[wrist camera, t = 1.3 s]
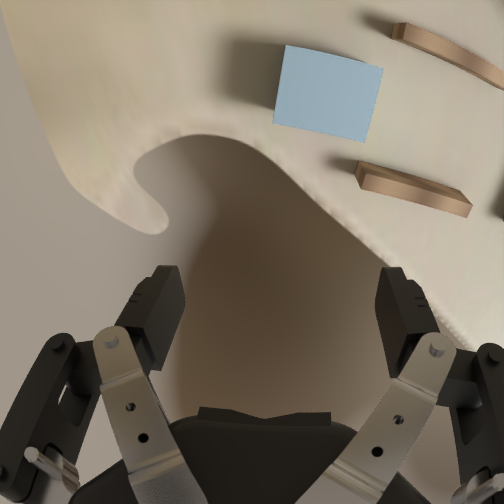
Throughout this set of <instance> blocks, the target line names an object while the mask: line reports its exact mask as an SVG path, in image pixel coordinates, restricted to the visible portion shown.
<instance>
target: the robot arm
mask: <svg viewBox="0 0 504 504" xmlns="http://www.w3.org/2000/svg"><path fill="white" fill-rule="evenodd" d="M184 308H185V294H184V290H183V285H182V281H181V277H180V273H179V270H178V267H177V266H173V265H159V266H157V268H156V270H155V271H154V273H153V275H152V276H151V277H146V278H145V279H144V280H143V281H141V282H140V283H139V284H138V285H137V287H136V288H135V290H134V292H133V295H131V297H130V299H129V302H127V304H126V305H125V307H124V309H123V311H122V312H121V314H120V316H119V318H118V319H117V321H116V323H115V325H114V326H111V327H107V328H105V329H103V330H101V331H100V332H99V333H98V334H97V335H96V336H95V338H94V340H92V341H85V342H77V343H76V342H75V340H74V338H73V337H72V336H71V335H70V334H68V333H60V334H56V335H54V336H52V337H51V338H50V339H49V340H48V341H47V342H46V343H45V345H44V347H43V348H42V350H41V352H40V353H39V355H38V357H37V359H36V361H35V362H34V364H33V366H32V368H31V370H30V371H29V374H28V375H27V377H26V379H25V381H24V383H23V385H22V386H21V388H20V390H19V392H18V394H17V396H16V398H15V400H14V402H13V404H12V406H11V408H10V410H9V412H8V414H7V417H6V419H5V421H4V423H3V425H2V427H1V430H0V495H2V496H4V497H5V498H6V499H7V500H9V501H10V502H12V503H14V504H431V503H430V502H429V501H428V500H427V499H426V498H425V497H424V496H423V495H422V494H421V493H420V492H419V491H418V490H417V489H416V488H415V487H413V486H412V485H411V484H410V483H409V482H408V481H407V480H406V479H405V478H404V477H403V476H402V475H401V474H400V473H399V472H398V470H399V468H400V467H401V465H402V463H403V462H404V460H405V458H406V457H407V455H408V454H409V452H410V450H411V449H412V447H413V445H414V444H415V442H416V440H417V438H418V436H419V435H420V433H421V431H422V429H423V427H424V426H425V424H426V422H427V420H428V418H429V416H430V414H431V412H432V410H433V408H434V406H435V405H440V406H446V407H449V410H450V415H451V420H452V426H453V432H454V437H455V444H456V450H457V457H458V465H459V473H460V483H461V486H459V487H458V488H457V489H456V490H455V491H454V493H453V495H452V497H451V500H450V504H504V349H503V348H502V347H501V346H499V345H497V344H494V343H485V344H483V345H481V346H480V347H479V349H478V351H477V352H472V351H466V350H461V349H457V348H456V346H455V344H454V342H453V341H452V340H451V339H450V338H449V337H448V336H446V335H444V334H441V333H440V330H439V328H438V325H437V323H436V320H435V318H434V316H433V313H432V311H431V308H430V307H429V304H428V301H427V299H426V297H425V295H424V292H423V290H422V288H421V287H420V286H419V285H418V284H417V283H416V282H415V281H414V280H407V279H406V277H405V274H404V272H403V270H402V268H401V267H382V269H381V273H380V278H379V283H378V288H377V293H376V298H375V313H376V317H377V321H378V326H379V330H380V334H381V338H382V342H383V347H384V351H385V356H386V361H387V365H388V370H389V375H390V378H395V380H394V381H393V383H392V384H391V386H390V387H389V389H388V390H387V392H386V393H385V395H384V396H383V398H382V399H381V401H380V402H379V404H378V405H377V406H376V408H375V409H374V411H373V412H372V414H371V415H370V416H369V418H368V419H367V420H366V422H365V423H364V425H363V426H362V427H361V429H360V430H359V431H358V432H357V431H355V430H354V429H352V428H350V427H348V426H346V425H343V424H340V423H337V422H333V421H331V412H325V413H324V412H322V413H294V414H289V415H284V416H279V417H273V418H268V419H261V418H257V417H254V416H251V415H247V414H244V413H240V412H237V411H234V410H230V409H219V408H208V407H200V408H199V412H198V415H196V416H191V417H186V418H183V419H180V420H177V421H175V422H173V423H170V421H169V419H168V417H167V415H166V413H165V411H164V409H163V407H162V405H161V403H160V401H159V398H158V396H157V394H156V392H155V390H154V388H153V385H152V383H151V381H150V379H149V377H148V376H149V374H150V371H151V370H157V371H161V370H162V367H163V365H164V362H165V359H166V357H167V354H168V351H169V348H170V346H171V343H172V341H173V338H174V335H175V333H176V330H177V327H178V324H179V322H180V319H181V317H182V314H183V312H184ZM65 385H66V386H67V387H66V389H65V392H64V394H63V396H62V398H61V401H60V403H59V405H58V401H59V397H60V395H61V393H62V390H63V388H64V386H65ZM100 394H102V398H103V401H104V404H105V408H106V411H107V414H108V417H109V420H110V423H111V426H112V429H113V432H114V435H115V438H116V441H117V444H118V446H119V449H120V452H121V454H122V457H123V459H121V460H120V461H118V462H117V463H116V464H114V465H113V466H111V467H110V468H108V469H107V470H105V471H104V472H103V473H101V474H100V475H98V476H97V477H95V478H94V479H92V480H91V481H89V482H88V483H86V484H84V485H83V486H82V487H80V482H79V473H78V470H77V469H76V467H75V464H76V461H77V458H78V455H79V452H80V449H81V446H82V443H83V440H84V437H85V435H86V432H87V429H88V426H89V423H90V420H91V418H92V415H93V412H94V409H95V407H96V404H97V402H98V399H99V396H100Z"/></svg>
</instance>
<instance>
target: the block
mask: <svg viewBox="0 0 504 504" xmlns="http://www.w3.org/2000/svg"><path fill="white" fill-rule="evenodd" d="M383 69H384V68H380V67H377V66H374V65H370V64H367V63H364V62H360V61H356V60H353V59H349V58H345V57H341V56H337V55H333V54H329V53H324V52H320V51H315V50H310V49H305V48H300V47H295V46H289V45H285V50H284V56H283V62H282V68H281V74H280V80H279V86H278V92H277V98H276V103H275V109H274V117H273V124H278V125H284V126H289V127H295V128H300V129H305V130H310V131H315V132H320V133H325V134H329V135H334V136H338V137H342V138H347V139H351V140H355V141H359V142H363V143H365V140H366V137H367V133H368V129H369V125H370V122H371V118H372V114H373V110H374V106H375V102H376V98H377V94H378V90H379V86H380V82H381V78H382V73H383Z"/></svg>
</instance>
